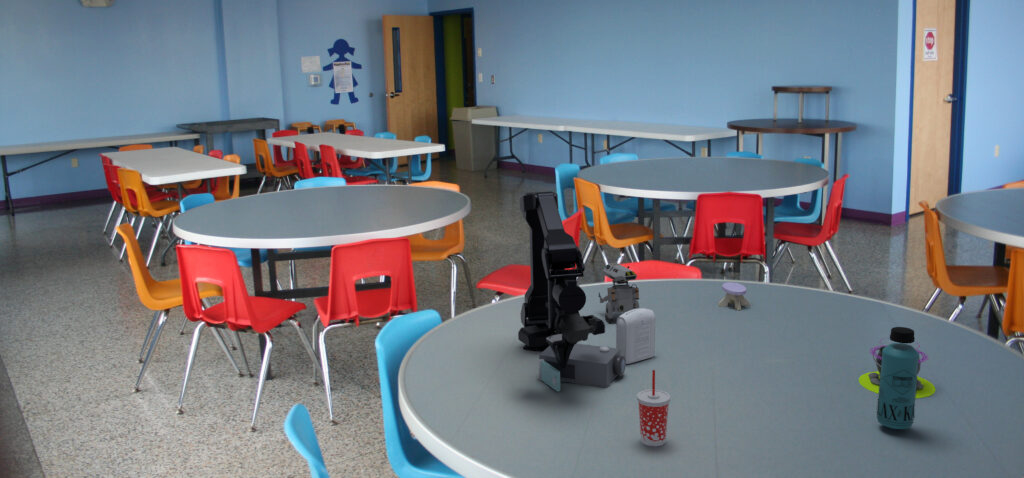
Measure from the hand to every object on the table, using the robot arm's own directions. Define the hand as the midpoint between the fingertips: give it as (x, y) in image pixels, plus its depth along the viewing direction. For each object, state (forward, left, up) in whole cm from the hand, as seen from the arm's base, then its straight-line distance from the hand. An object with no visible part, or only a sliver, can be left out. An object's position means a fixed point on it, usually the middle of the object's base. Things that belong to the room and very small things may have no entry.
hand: (562, 367), depth 176 cm
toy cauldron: (+67, +27, -5) cm, 72 cm away
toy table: (+24, +73, -5) cm, 77 cm away
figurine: (-3, +51, -5) cm, 51 cm away
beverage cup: (+25, -18, -5) cm, 31 cm away
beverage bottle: (+66, +3, -5) cm, 66 cm away
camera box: (+1, +8, -4) cm, 9 cm away
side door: (-3, 0, -4) cm, 5 cm away
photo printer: (+10, +22, -5) cm, 25 cm away
